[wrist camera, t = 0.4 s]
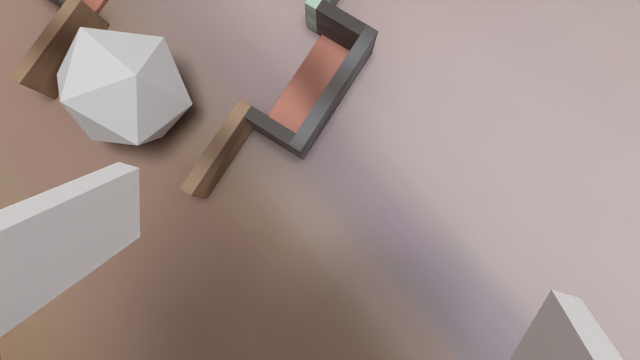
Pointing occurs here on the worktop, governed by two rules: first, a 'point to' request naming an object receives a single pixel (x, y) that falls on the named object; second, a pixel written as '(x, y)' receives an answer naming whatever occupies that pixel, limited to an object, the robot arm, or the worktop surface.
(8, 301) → the robot arm
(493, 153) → the worktop surface
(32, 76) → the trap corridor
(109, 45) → the die
